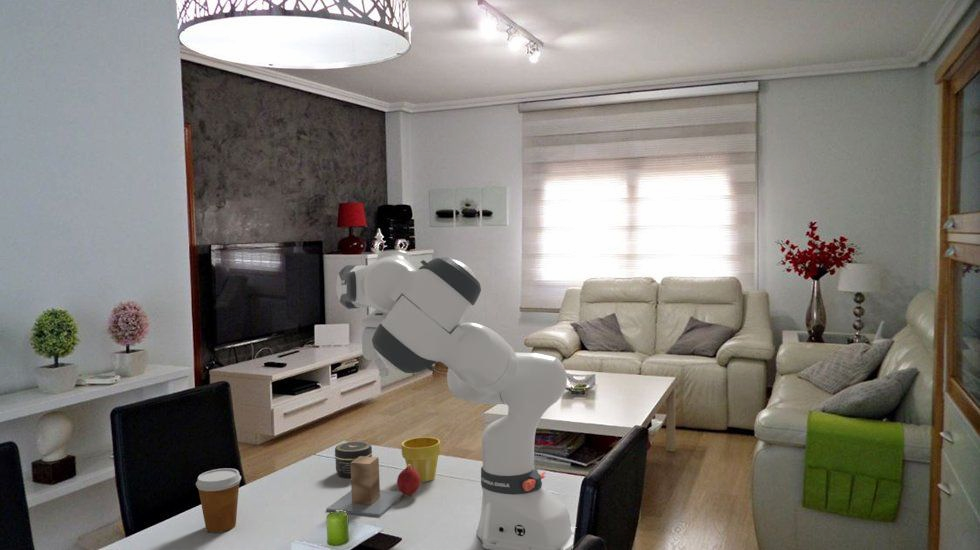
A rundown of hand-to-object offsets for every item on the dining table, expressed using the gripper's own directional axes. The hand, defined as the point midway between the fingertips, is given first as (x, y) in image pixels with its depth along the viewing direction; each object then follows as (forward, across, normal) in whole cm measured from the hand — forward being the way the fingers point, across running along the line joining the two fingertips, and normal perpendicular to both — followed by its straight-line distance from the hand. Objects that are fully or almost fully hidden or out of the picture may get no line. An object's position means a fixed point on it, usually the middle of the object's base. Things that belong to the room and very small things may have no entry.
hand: (396, 372), depth 168 cm
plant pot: (+31, -13, -4) cm, 34 cm away
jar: (+31, -8, -23) cm, 40 cm away
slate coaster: (+31, +7, -5) cm, 32 cm away
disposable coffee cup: (+31, +33, -24) cm, 52 cm away
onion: (+31, -1, +2) cm, 31 cm away
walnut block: (+30, +7, -5) cm, 32 cm away
